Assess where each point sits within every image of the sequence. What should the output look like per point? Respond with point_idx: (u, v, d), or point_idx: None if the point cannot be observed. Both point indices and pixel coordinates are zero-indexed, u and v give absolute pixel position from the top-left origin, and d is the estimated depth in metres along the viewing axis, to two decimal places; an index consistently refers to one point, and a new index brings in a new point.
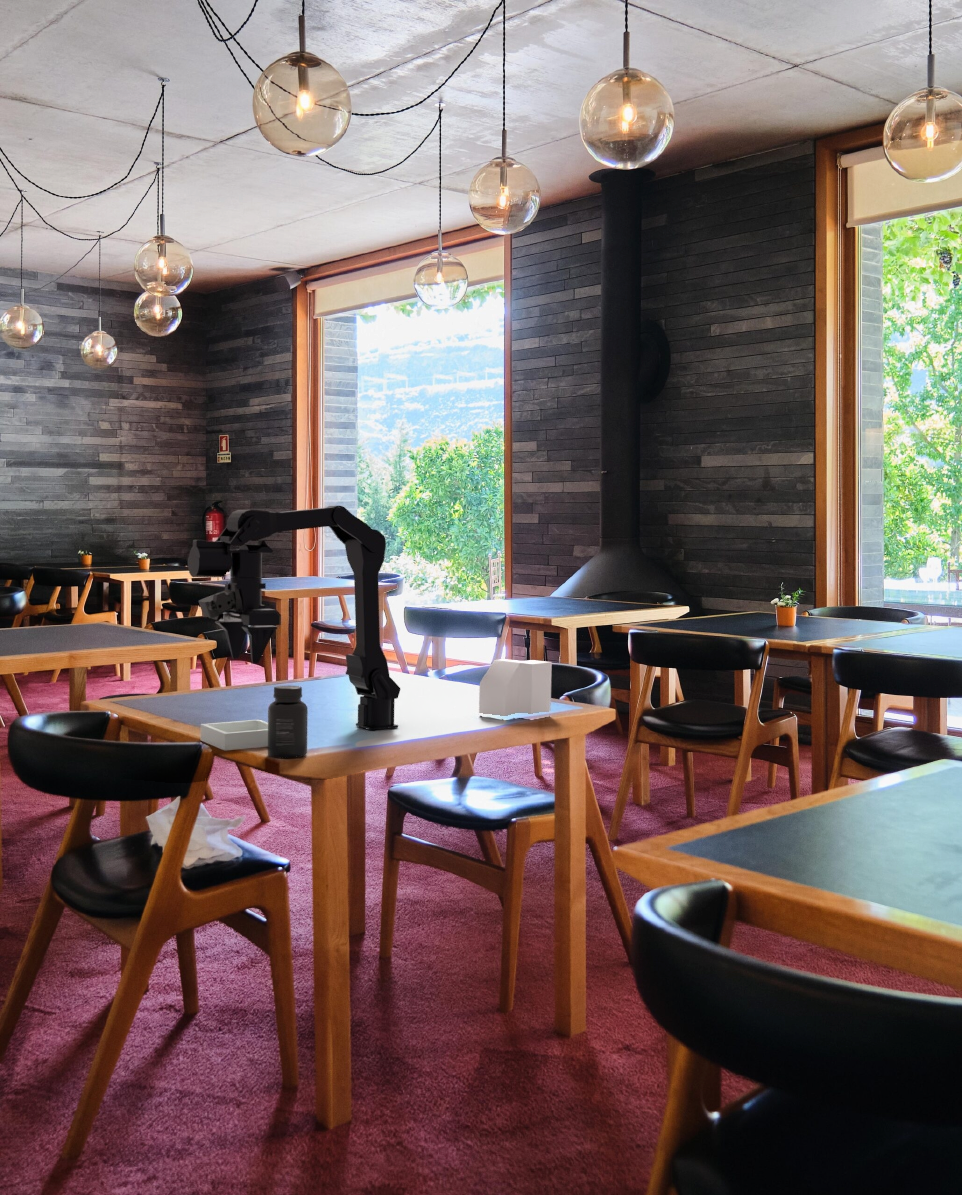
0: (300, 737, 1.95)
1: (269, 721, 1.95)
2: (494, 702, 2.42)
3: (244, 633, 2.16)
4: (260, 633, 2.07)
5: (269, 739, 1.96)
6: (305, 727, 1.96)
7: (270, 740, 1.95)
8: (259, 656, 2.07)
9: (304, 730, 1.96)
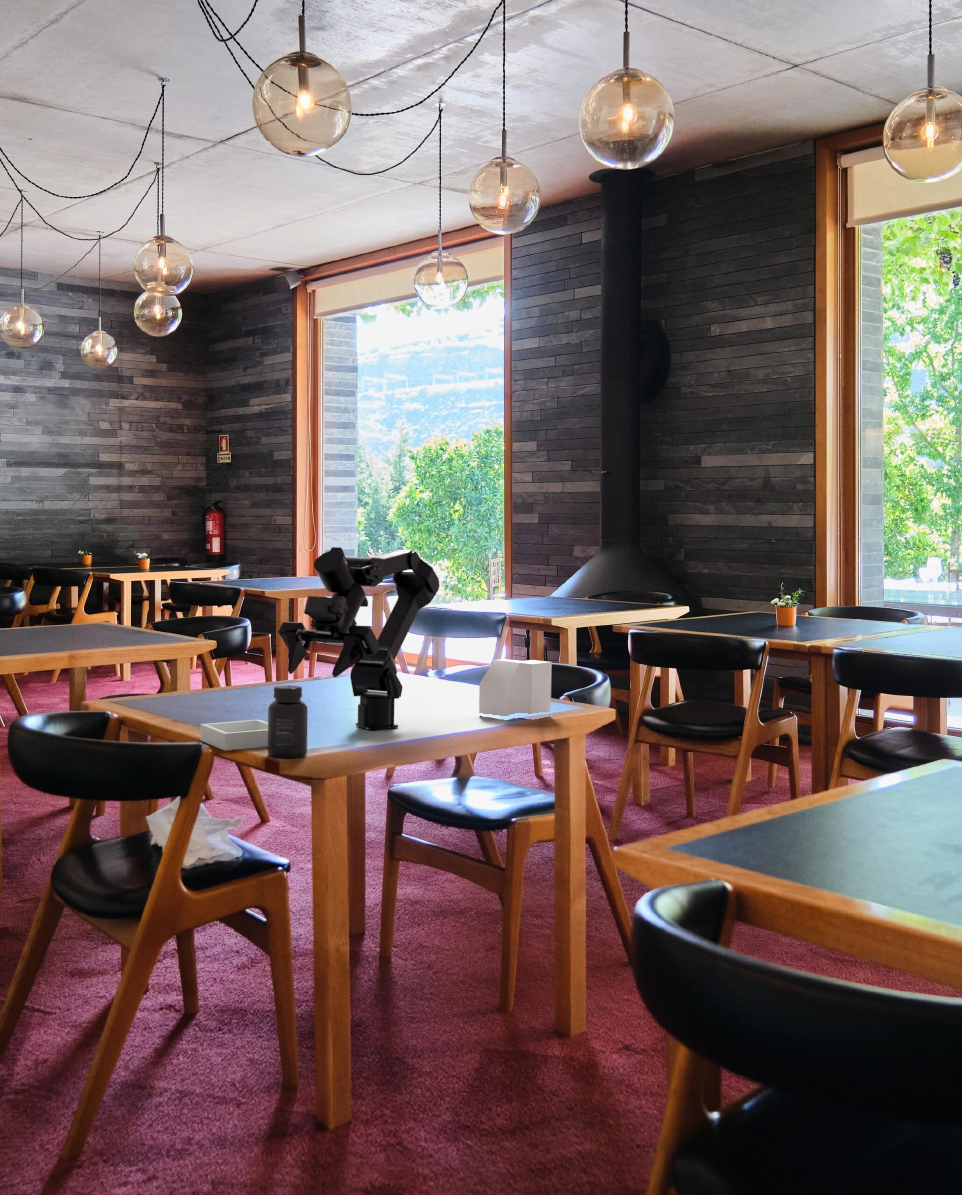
0: (300, 737, 1.95)
1: (269, 721, 1.95)
2: (494, 702, 2.42)
3: (301, 658, 2.11)
4: (351, 653, 2.06)
5: (269, 739, 1.96)
6: (305, 727, 1.96)
7: (270, 740, 1.95)
8: (340, 672, 2.04)
9: (304, 730, 1.96)
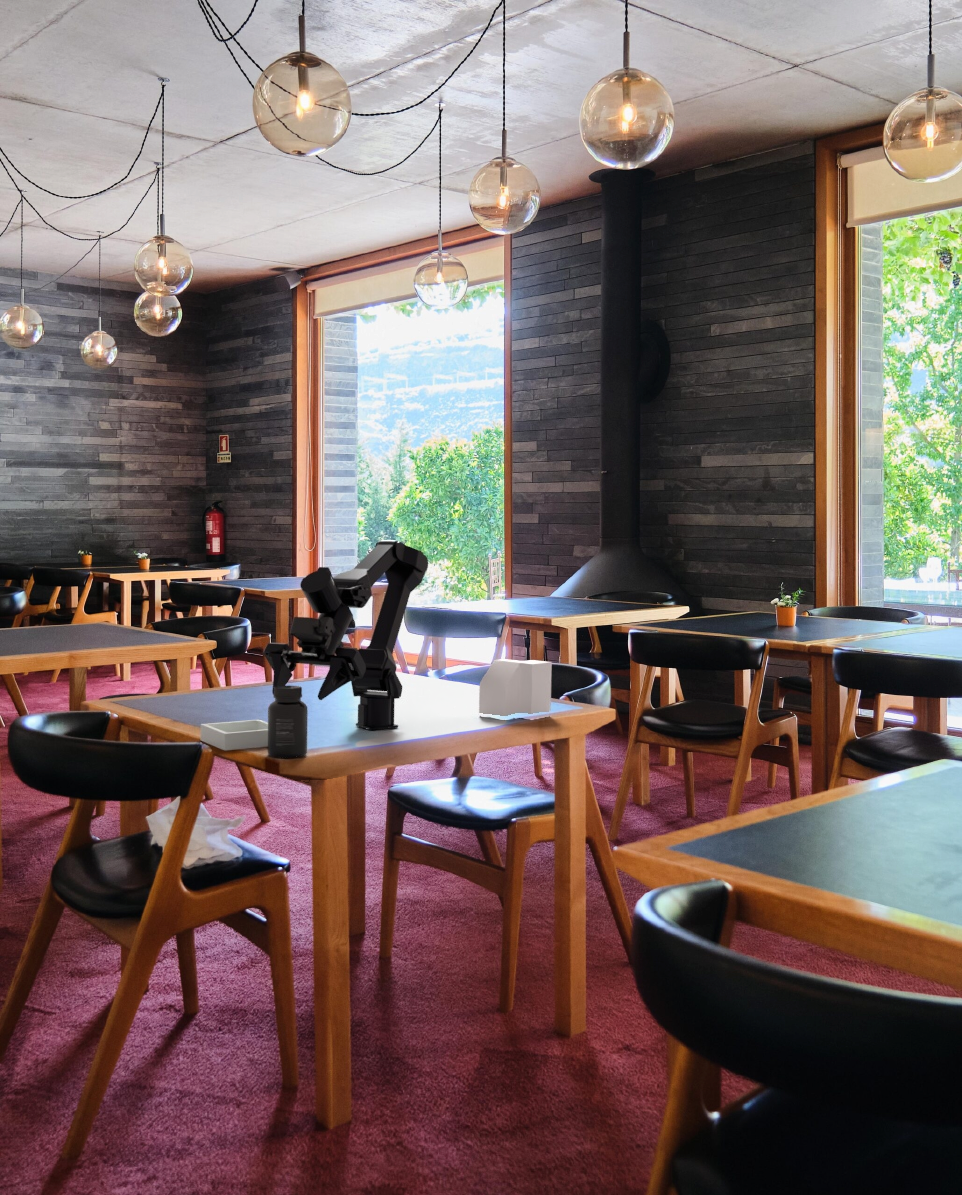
0: (300, 737, 1.95)
1: (269, 721, 1.95)
2: (494, 702, 2.42)
3: (286, 680, 2.06)
4: (337, 676, 2.01)
5: (269, 739, 1.96)
6: (305, 727, 1.96)
7: (270, 740, 1.95)
8: (326, 694, 1.99)
9: (304, 730, 1.96)
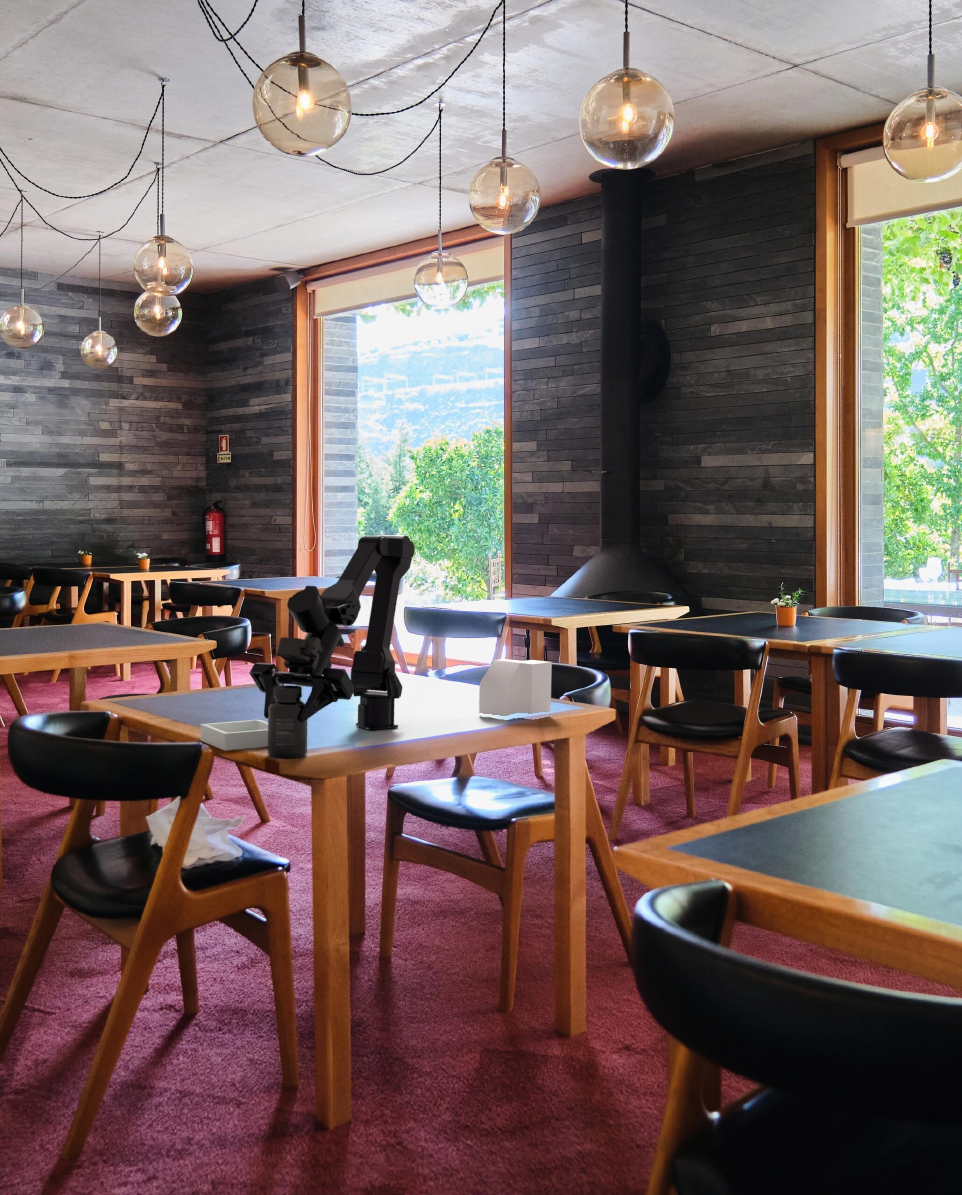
0: (300, 737, 1.95)
1: (269, 721, 1.95)
2: (494, 702, 2.42)
3: None
4: (320, 697, 1.98)
5: (269, 739, 1.96)
6: (305, 727, 1.96)
7: (270, 740, 1.95)
8: (308, 716, 1.96)
9: (304, 730, 1.96)
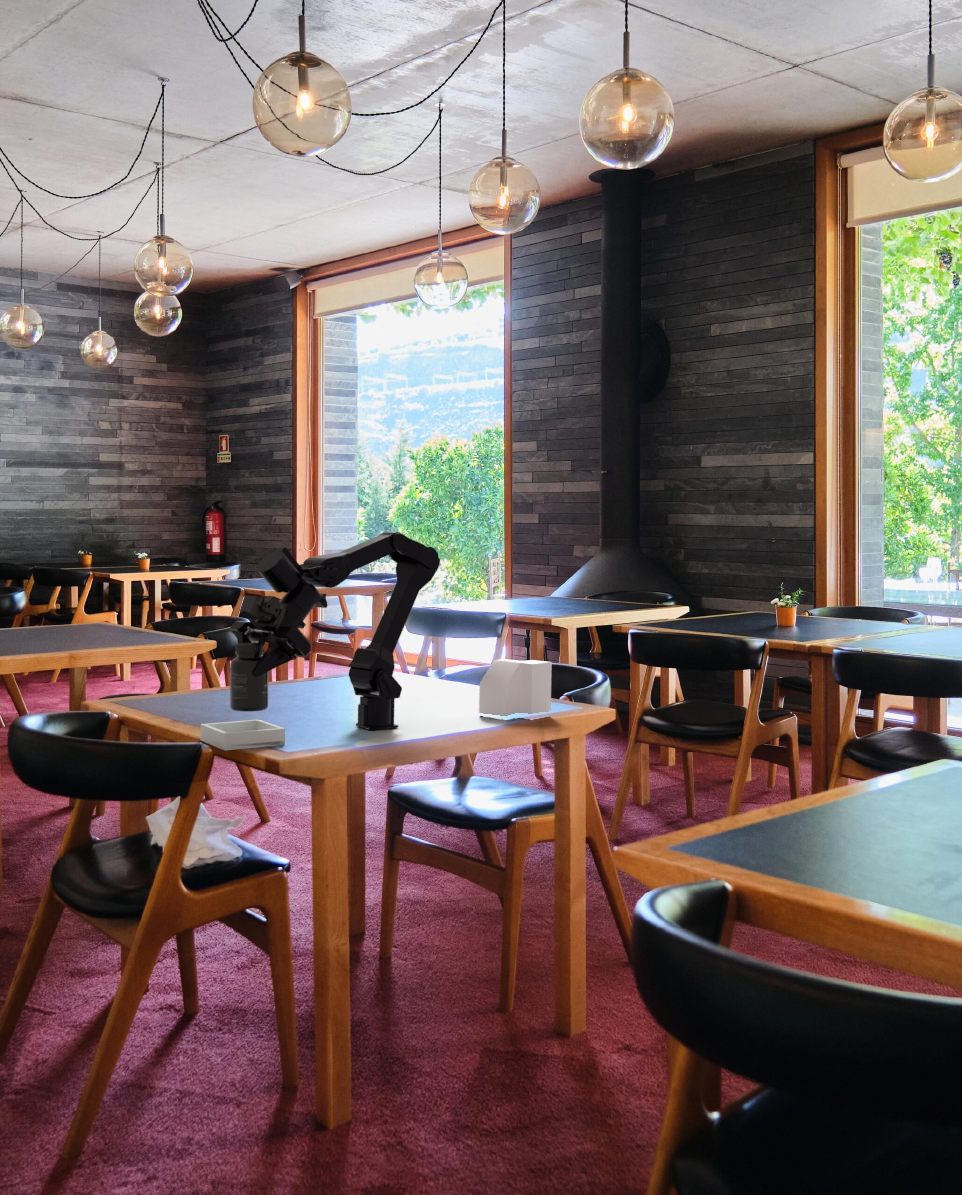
0: (254, 692, 2.03)
1: (230, 675, 2.05)
2: (494, 702, 2.42)
3: None
4: (278, 654, 2.04)
5: (230, 692, 2.05)
6: (261, 683, 2.04)
7: (230, 694, 2.05)
8: (262, 672, 2.03)
9: (259, 686, 2.03)
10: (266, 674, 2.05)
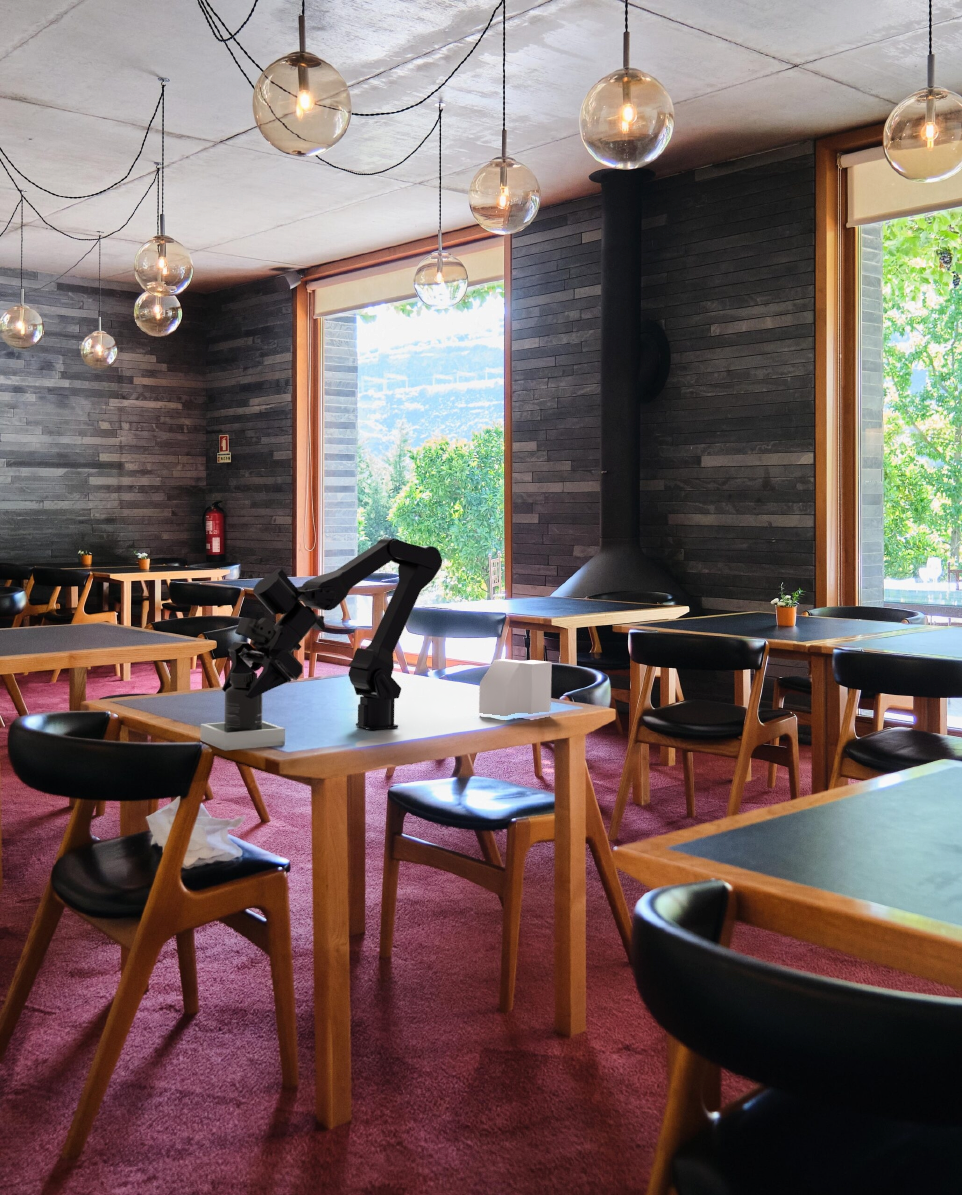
0: (247, 721, 2.06)
1: None
2: (494, 702, 2.42)
3: None
4: (273, 676, 2.06)
5: None
6: (254, 712, 2.06)
7: (224, 722, 2.08)
8: (256, 693, 2.04)
9: (252, 715, 2.06)
10: (259, 704, 2.07)
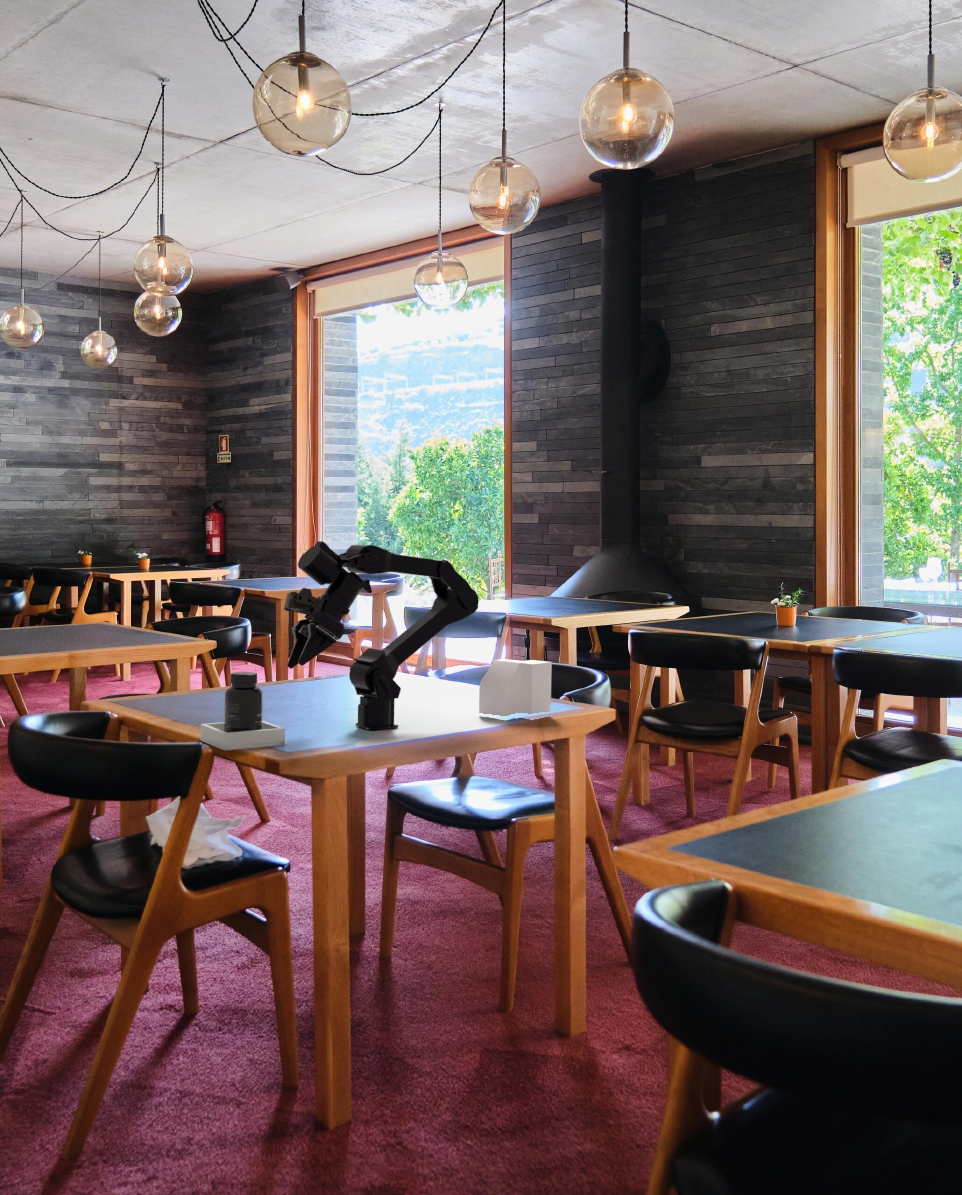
0: (247, 721, 2.06)
1: None
2: (494, 702, 2.42)
3: None
4: (319, 640, 2.13)
5: None
6: (254, 712, 2.06)
7: (224, 722, 2.08)
8: (307, 659, 2.12)
9: (252, 715, 2.06)
10: (259, 704, 2.07)
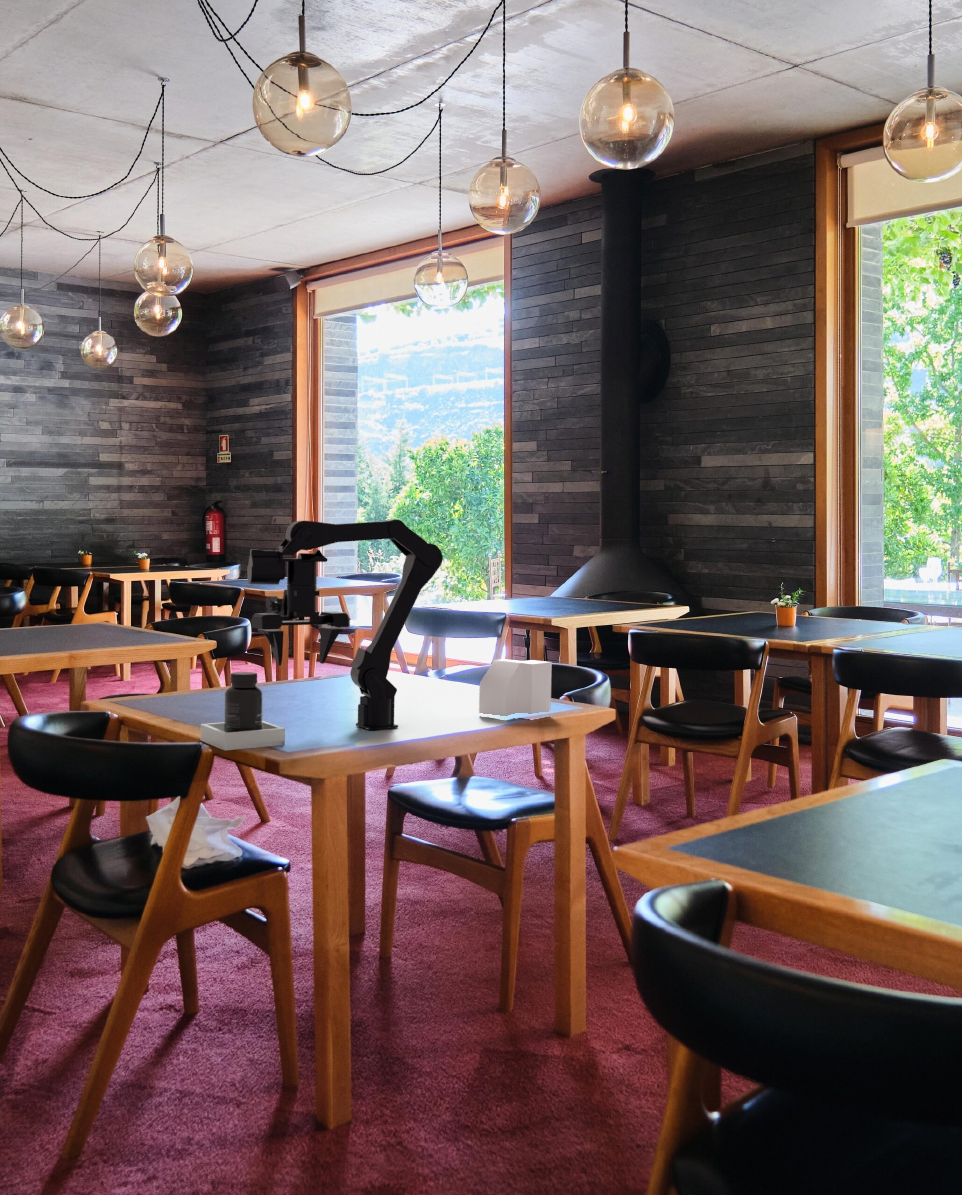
0: (247, 721, 2.06)
1: None
2: (494, 702, 2.42)
3: (328, 640, 2.23)
4: None
5: None
6: (254, 712, 2.06)
7: (224, 722, 2.08)
8: (277, 659, 2.19)
9: (252, 715, 2.06)
10: (259, 704, 2.07)
